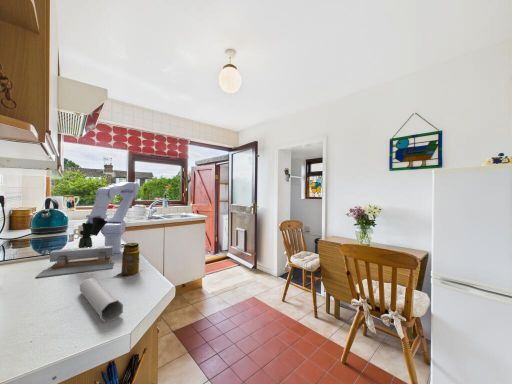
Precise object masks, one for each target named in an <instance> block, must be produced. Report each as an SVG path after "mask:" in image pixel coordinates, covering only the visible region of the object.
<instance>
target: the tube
mask: <svg viewBox="0 0 512 384" xmlns="http://www.w3.org/2000/svg"><path fill="white" fill-rule="evenodd" d="M79 291H80V292H81V294H82V295H83V297H84V298H85V299H86V300H87V301H88V302H89V304H90V305H91V307H92V308H93V310H94V311H95V312H96V313H97V314H98V315H99V319H100V320H101V321H102V322H104V323H108V322H112V321H113V320H117V319H118V318H119V317H120V316H121V315H122V314H123V312H124V304H123V303H122V302H121V301H120V300H119V299H117V298H116V297H114V296H113V295H112V293H111V292H109V291H108V290H107V289H106V288H105V287H104V286H103V285H102V284H101V283H100V282H99V281H97V280H96V278H95V277H90V278H86V279H84V280H83V281H81V283H80V284H79Z"/></svg>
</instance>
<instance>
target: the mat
mask: <svg viewBox="0 0 512 384" xmlns="http://www.w3.org/2000/svg"><path fill="white" fill-rule="evenodd" d="M114 265H115V262H113V261H111V262H109V263H103V264H94V265H85V266H76V267H67V268H58V269H51V268H50V269H43V270H42V271H41V272H39V273H38V275H36V276H35V277H34V278H35V279H40V278H41V279H42V278H49V277H56V276H57V277H58V276H64V275H72V274H73V275H74V274H81V273H89V272H96V271H105V270H106V271H107V270H113V269H114Z"/></svg>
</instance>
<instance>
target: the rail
mask: <svg viewBox="0 0 512 384" xmlns="http://www.w3.org/2000/svg"><path fill="white" fill-rule="evenodd" d="M99 253H105V257H106V256H111V257H113V255H114V254H113V246H105V245H104V246H102V245H101V246H92V247H89V248H86V247H84V248H79V247H78V248H77V247H76V248H68V249H67V248H65V249H55V250H54V249H53V250H52V251H50V252H49V263H56V262H57V258H58V257H65V256H66V260H76V259H86V258H96V257H98V254H99Z"/></svg>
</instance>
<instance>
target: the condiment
mask: <svg viewBox="0 0 512 384" xmlns="http://www.w3.org/2000/svg"><path fill="white" fill-rule="evenodd" d="M139 247H140V246H139V243H138V242H129V243H125V244H124V245H123V251H122V252H121V253H122V254H121V256H122V258H121V259H122V260H121V272H119V273H118V274H115V275H114V276H113V278H118V279H132V278H133V277H135V276H137V275H140V273H142V272H143V271H144V269H140V248H139Z"/></svg>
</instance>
